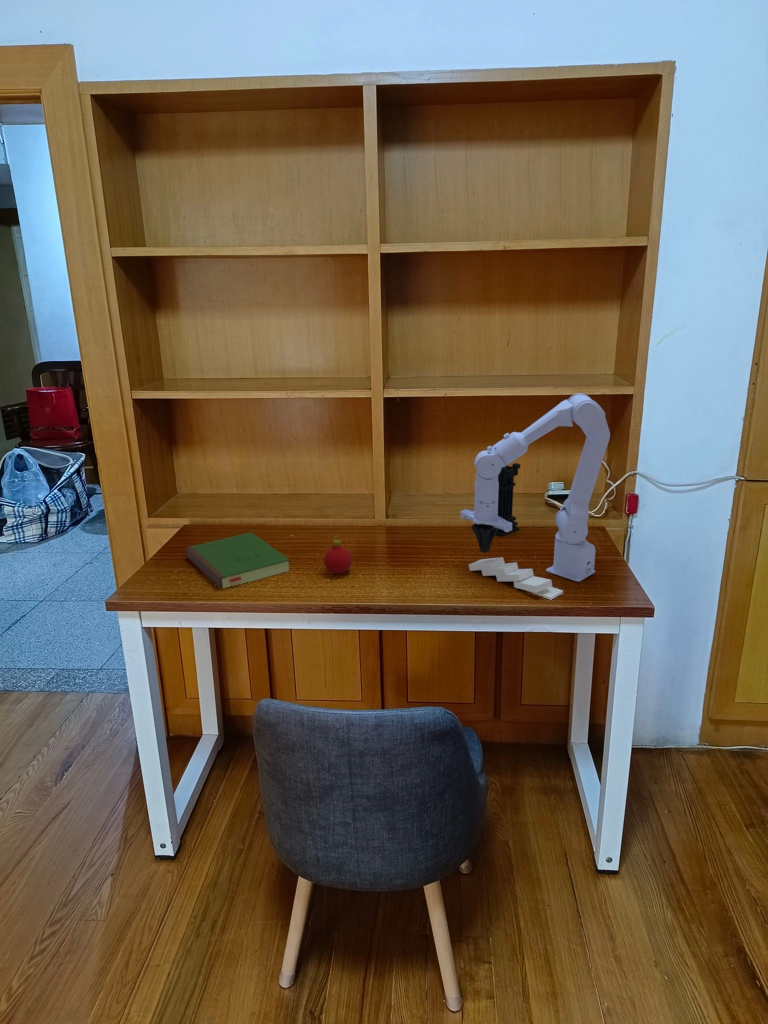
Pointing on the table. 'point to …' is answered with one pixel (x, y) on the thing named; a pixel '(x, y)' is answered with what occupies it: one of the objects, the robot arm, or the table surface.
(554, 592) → the domino
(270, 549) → the hardcover book
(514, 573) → the domino
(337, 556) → the christmas ornament
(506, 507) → the chess piece
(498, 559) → the domino
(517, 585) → the domino
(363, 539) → the table surface
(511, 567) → the domino
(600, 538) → the table surface
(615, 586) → the table surface
